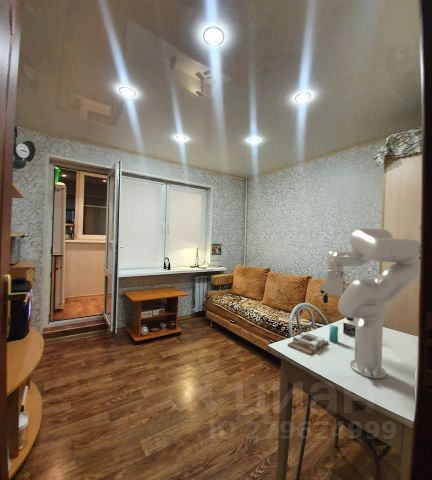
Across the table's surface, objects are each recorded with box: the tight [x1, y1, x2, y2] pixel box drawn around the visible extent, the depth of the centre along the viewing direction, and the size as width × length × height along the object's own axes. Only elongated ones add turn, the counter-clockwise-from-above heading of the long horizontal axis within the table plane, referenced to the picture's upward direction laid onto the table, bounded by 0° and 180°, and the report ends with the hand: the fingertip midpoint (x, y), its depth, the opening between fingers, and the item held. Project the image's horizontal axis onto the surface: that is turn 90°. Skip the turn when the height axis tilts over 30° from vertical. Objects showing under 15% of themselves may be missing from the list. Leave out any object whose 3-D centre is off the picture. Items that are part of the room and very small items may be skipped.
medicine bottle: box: [342, 317, 359, 338], centre depth 131 cm, size 7×7×12 cm
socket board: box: [287, 331, 329, 356], centre depth 117 cm, size 20×12×4 cm, turn 131°
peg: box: [328, 324, 339, 344], centre depth 121 cm, size 4×4×8 cm
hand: (334, 305), depth 122 cm, fingers open, 9 cm apart
